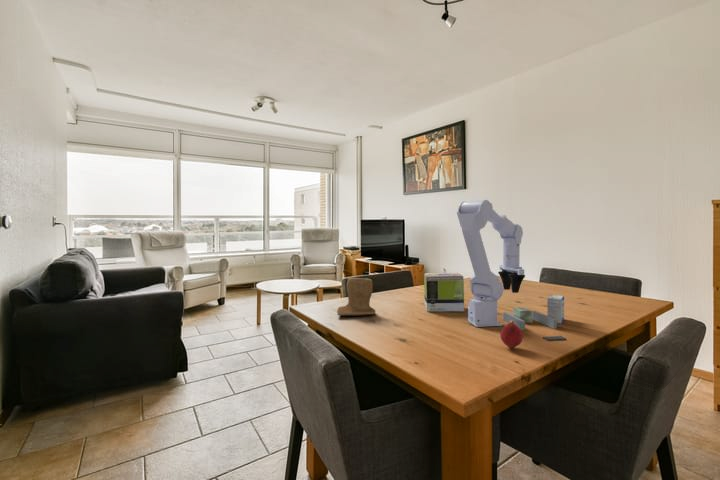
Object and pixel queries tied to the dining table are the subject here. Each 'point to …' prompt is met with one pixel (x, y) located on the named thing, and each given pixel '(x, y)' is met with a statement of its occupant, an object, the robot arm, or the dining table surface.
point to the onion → (511, 335)
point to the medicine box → (556, 308)
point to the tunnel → (535, 316)
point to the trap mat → (554, 338)
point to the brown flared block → (357, 298)
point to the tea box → (444, 291)
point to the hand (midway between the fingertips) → (511, 291)
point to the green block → (523, 314)
